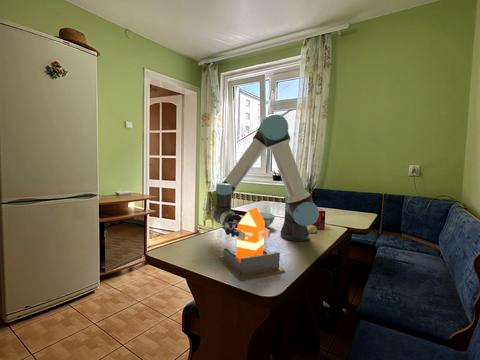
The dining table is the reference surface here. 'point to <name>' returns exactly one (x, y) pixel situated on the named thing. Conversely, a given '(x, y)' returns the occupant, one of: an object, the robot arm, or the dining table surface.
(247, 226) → the orange juice
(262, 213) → the chinaware
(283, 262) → the dining table surface
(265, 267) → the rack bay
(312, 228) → the bread roll
